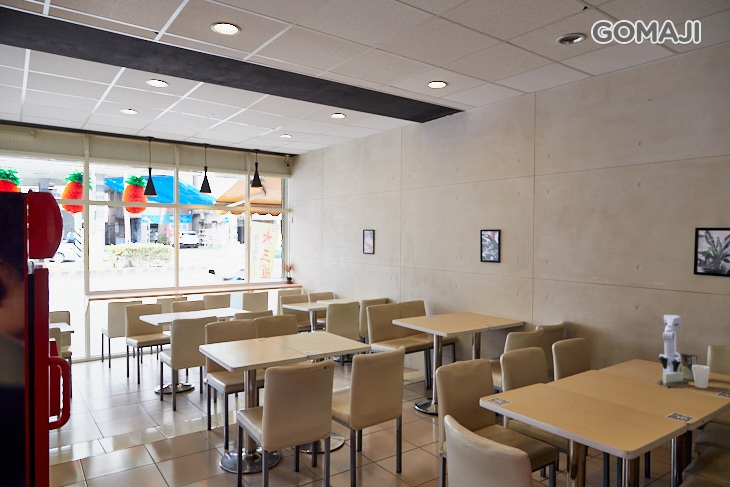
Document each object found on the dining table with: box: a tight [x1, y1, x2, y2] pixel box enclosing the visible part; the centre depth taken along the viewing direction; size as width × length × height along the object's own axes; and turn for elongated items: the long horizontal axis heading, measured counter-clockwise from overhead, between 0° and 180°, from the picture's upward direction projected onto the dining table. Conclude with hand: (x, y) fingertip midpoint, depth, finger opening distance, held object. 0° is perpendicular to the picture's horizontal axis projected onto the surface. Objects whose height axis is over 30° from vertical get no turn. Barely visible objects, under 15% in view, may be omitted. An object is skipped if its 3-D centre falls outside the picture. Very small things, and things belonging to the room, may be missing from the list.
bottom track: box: [656, 380, 691, 388], centre depth 307 cm, size 9×18×3 cm, turn 103°
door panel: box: [662, 371, 685, 385], centre depth 307 cm, size 2×14×7 cm, turn 104°
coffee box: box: [679, 352, 698, 381], centre depth 323 cm, size 9×6×16 cm
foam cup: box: [692, 364, 710, 389], centre depth 302 cm, size 10×9×13 cm
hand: (670, 370), depth 309 cm, fingers open, 7 cm apart
